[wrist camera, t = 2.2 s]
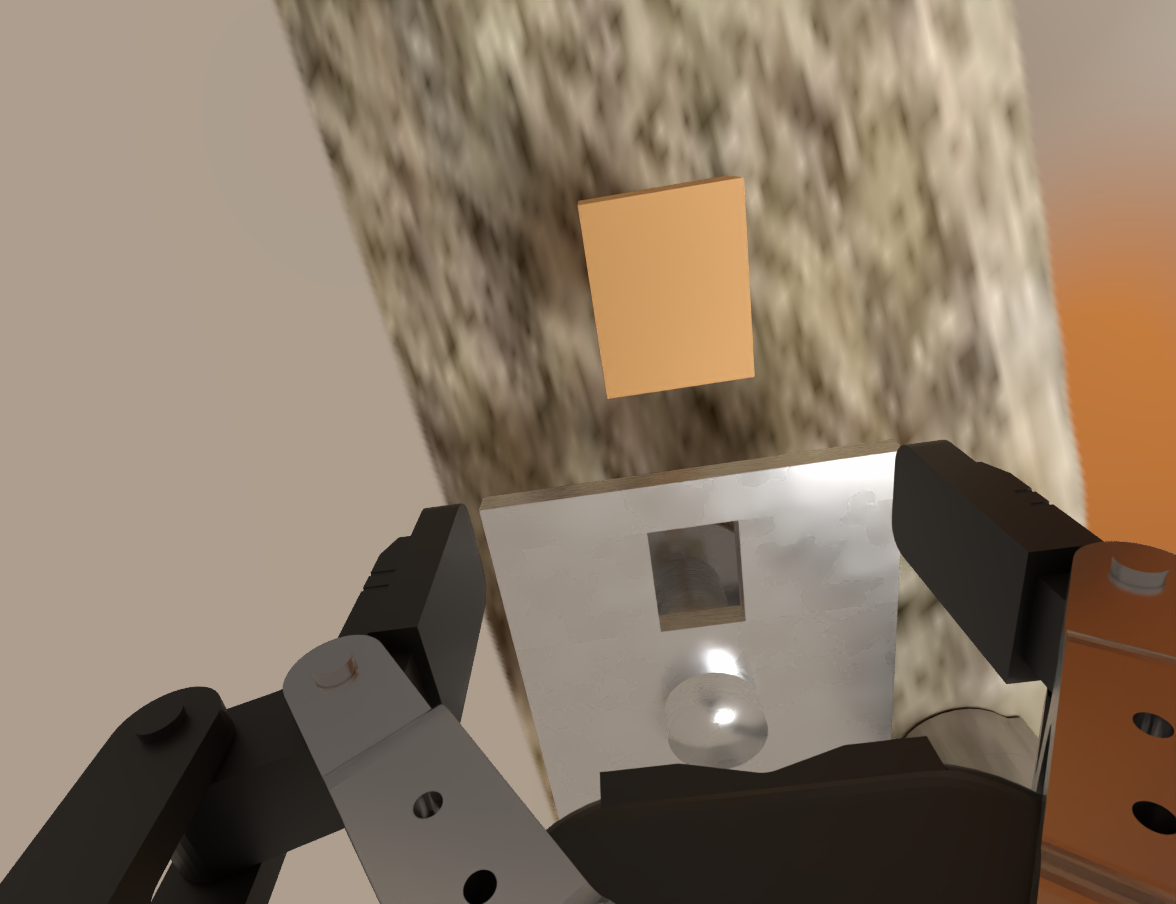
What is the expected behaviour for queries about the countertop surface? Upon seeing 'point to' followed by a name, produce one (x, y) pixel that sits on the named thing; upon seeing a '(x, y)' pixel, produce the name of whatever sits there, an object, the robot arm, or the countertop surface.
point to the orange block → (670, 285)
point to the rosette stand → (703, 613)
